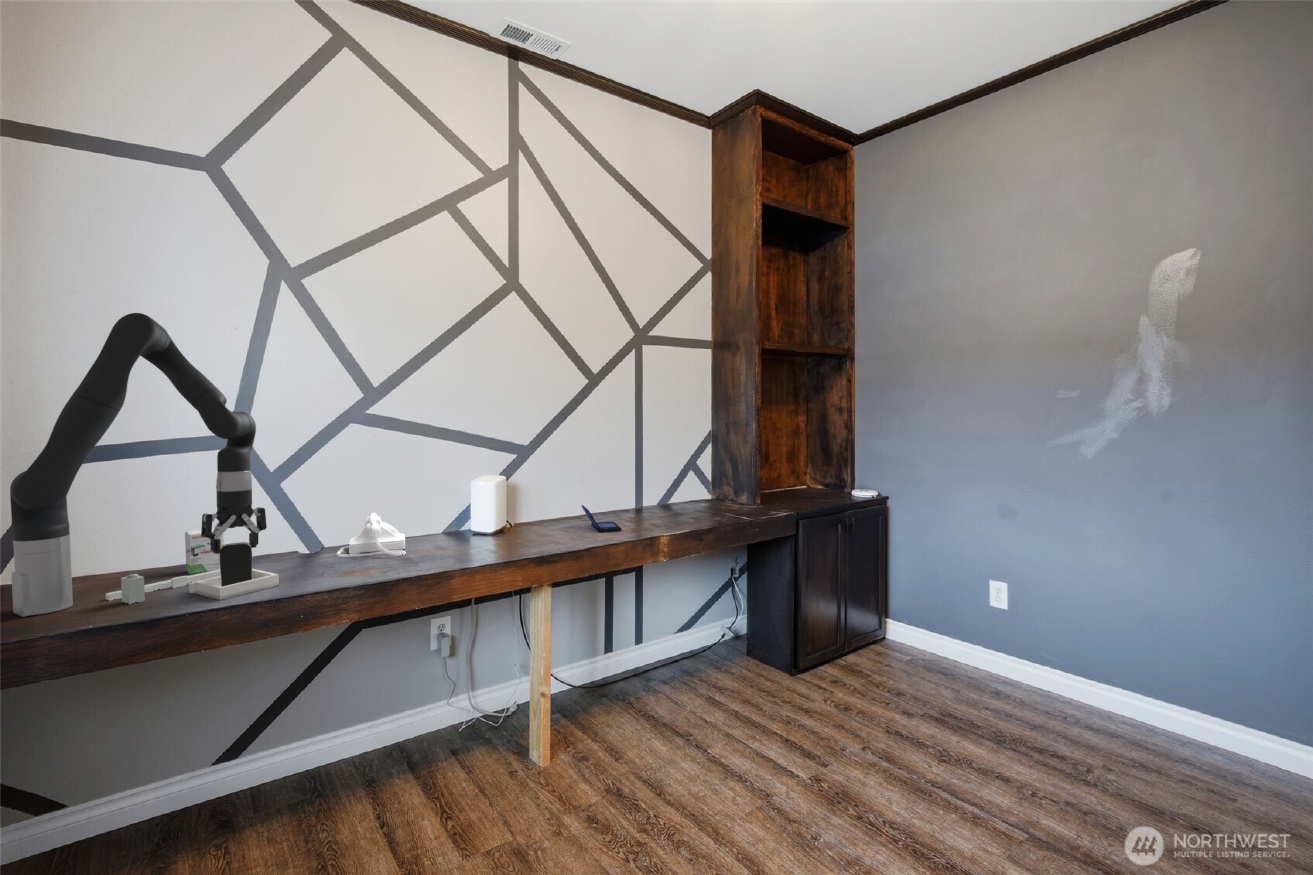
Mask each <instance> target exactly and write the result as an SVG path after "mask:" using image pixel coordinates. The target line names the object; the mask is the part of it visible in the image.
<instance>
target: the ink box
mask: <svg viewBox="0 0 1313 875" xmlns="http://www.w3.org/2000/svg"><path fill="white" fill-rule="evenodd" d="M213 530H214V527H212V532H213ZM224 536H225V532H223V534H222V535H221V536H220V538H219V539H220V549H221V547H222V546H223V545H225V537H224ZM184 543H185V544H184V546H185V564H186V565H185V568H186V569H185V570H186V573H187V574H188V575H195V574H200V572H201V573H205V572H210V571H214V570H219V569H220V562H219V554H214V553H213V552H212V551H211V543H210V539H209V538H205V537H202V536H201V529H195V530H188V531H185V532H184ZM194 573H195V574H194Z"/></svg>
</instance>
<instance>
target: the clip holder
mask: <svg viewBox="0 0 1313 875" xmlns="http://www.w3.org/2000/svg"><path fill="white" fill-rule="evenodd" d="M219 576H221V574H220V569H219V570H214V571H207V572H201V573H195V574H190V575H183V576H177V577H172V578H171V579H167V580H164V581H163V580H162V581H157V582H154V583H148V584H145V577H144V576H142V575H139V574H138V573H131V574H127V575H126V576H123V577H120V587H121V588H120V589H121V590H116V591H111V592H107V593H105V600H106V601H114V599H115V600H118V599H121V603H124V602H125V604H127V603H128V604H127V605H133V604H132V603H134V604H136V603H135V602H138V603H141V602H142V603H143V602H145V601H146V598H145V596H146V593H150V592H154V590H155V591H159V590H158V589H160V590H163V589H168V588H171V589H177V587H178V588H182V587H186V586H185V585H188V593H189V594H194V593H195V582H196V581H201V580H205V579H210V578H214V577H219ZM190 582H192V583H190ZM145 592H146V593H145Z"/></svg>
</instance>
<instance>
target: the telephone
mask: <svg viewBox="0 0 1313 875" xmlns="http://www.w3.org/2000/svg"><path fill="white" fill-rule="evenodd" d="M345 548H346V549H347V548H348V554H346V553H345V554H344V551H345ZM403 549H405V550H403ZM335 554H336V555H335V556H336V557H339V558H359V557H360V558H361V557H369V556H377V555H378V554H379V555H384V554H388V555H392V556H397V557H398V556H399V557H400V556H402V554H403V556H405V554H406V555H407V552H406V535H405V533H400V532H399V531H398V530H397V529H396V528H395V527H394V526H392V525H391V524H389V523H387V522H384V521H382V518H381V515H379V516H378V514H377V513H376V512H372V513H371V514H370V515H369V516H367V517H366V519H365V524H364V526H363V527H362V529H360V531H359V532H358V533H357V534H356V535H355V536H353V537H351V538H350V541H349V544H348V546H343V547H342V548H339V550H337V552H336V553H335ZM374 554H375V555H374Z"/></svg>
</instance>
